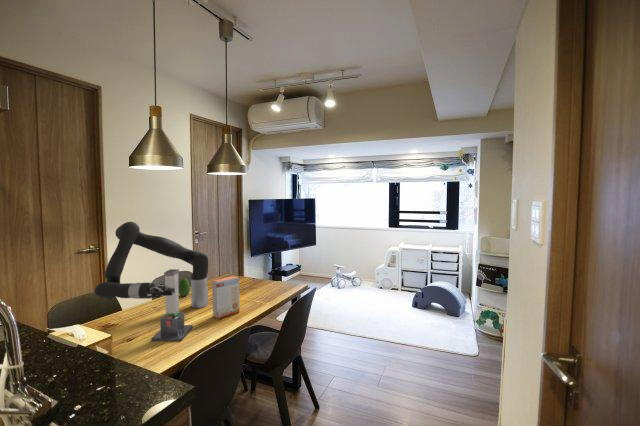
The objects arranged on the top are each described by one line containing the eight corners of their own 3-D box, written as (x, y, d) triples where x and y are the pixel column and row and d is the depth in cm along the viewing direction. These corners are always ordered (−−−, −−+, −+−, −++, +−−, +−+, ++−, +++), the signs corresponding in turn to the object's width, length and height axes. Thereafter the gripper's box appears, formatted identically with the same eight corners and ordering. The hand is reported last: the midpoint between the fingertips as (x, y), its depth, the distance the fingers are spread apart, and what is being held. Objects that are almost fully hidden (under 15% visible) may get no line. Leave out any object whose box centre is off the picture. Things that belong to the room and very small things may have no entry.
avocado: (192, 294, 211) (192, 277, 210) (187, 297, 203) (187, 280, 202) (180, 294, 210) (180, 277, 210) (175, 297, 202) (175, 280, 202)
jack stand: (164, 328, 156) (164, 308, 155) (192, 327, 157) (192, 307, 156) (151, 341, 142) (150, 319, 141) (181, 340, 143) (181, 318, 142)
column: (170, 316, 152) (169, 269, 151) (179, 316, 152) (178, 269, 151) (165, 322, 146) (163, 272, 144) (174, 321, 146) (173, 272, 144)
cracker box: (234, 309, 182) (234, 275, 181) (239, 312, 178) (239, 277, 177) (212, 316, 172) (211, 279, 171) (217, 319, 168) (216, 281, 167)
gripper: (133, 287, 140) (169, 287, 141) (149, 279, 154) (181, 278, 155) (133, 303, 140) (169, 302, 141) (149, 293, 155) (182, 293, 155)
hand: (176, 290), depth 148 cm, fingers open, 8 cm apart
